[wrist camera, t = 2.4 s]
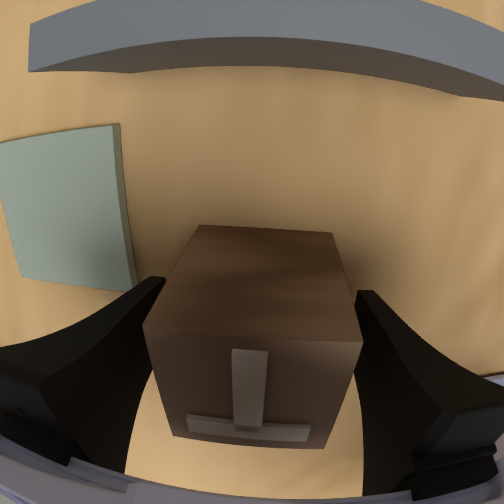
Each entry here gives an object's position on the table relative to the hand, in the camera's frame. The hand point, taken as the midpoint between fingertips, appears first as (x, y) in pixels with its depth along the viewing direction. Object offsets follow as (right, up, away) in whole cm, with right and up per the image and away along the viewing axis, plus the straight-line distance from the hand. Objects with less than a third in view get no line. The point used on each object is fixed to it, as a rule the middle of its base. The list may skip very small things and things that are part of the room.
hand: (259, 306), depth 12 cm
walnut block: (0, +1, +1) cm, 2 cm away
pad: (-9, +4, +1) cm, 10 cm away
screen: (+1, +9, -3) cm, 9 cm away
